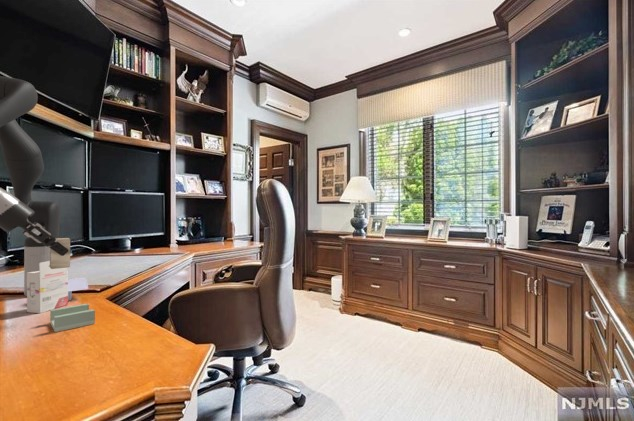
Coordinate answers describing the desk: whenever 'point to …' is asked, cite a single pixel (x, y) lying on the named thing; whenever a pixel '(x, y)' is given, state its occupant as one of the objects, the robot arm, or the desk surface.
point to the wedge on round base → (76, 285)
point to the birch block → (57, 259)
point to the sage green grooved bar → (71, 317)
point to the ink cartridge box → (47, 288)
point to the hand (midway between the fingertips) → (64, 252)
